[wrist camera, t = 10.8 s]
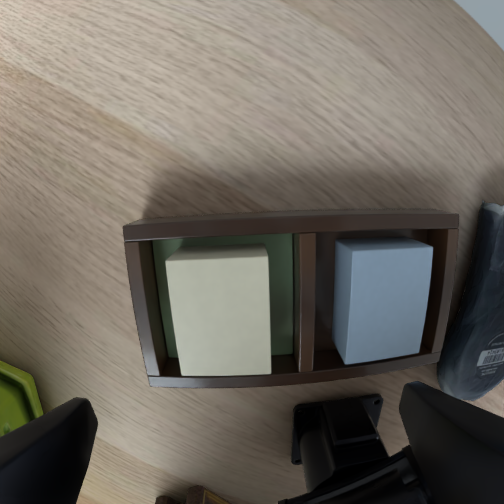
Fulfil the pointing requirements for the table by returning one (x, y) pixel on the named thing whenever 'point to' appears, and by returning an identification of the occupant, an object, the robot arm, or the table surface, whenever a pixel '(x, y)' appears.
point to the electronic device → (478, 317)
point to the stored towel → (380, 297)
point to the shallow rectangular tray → (285, 287)
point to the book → (195, 497)
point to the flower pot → (17, 398)
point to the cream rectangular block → (221, 309)
